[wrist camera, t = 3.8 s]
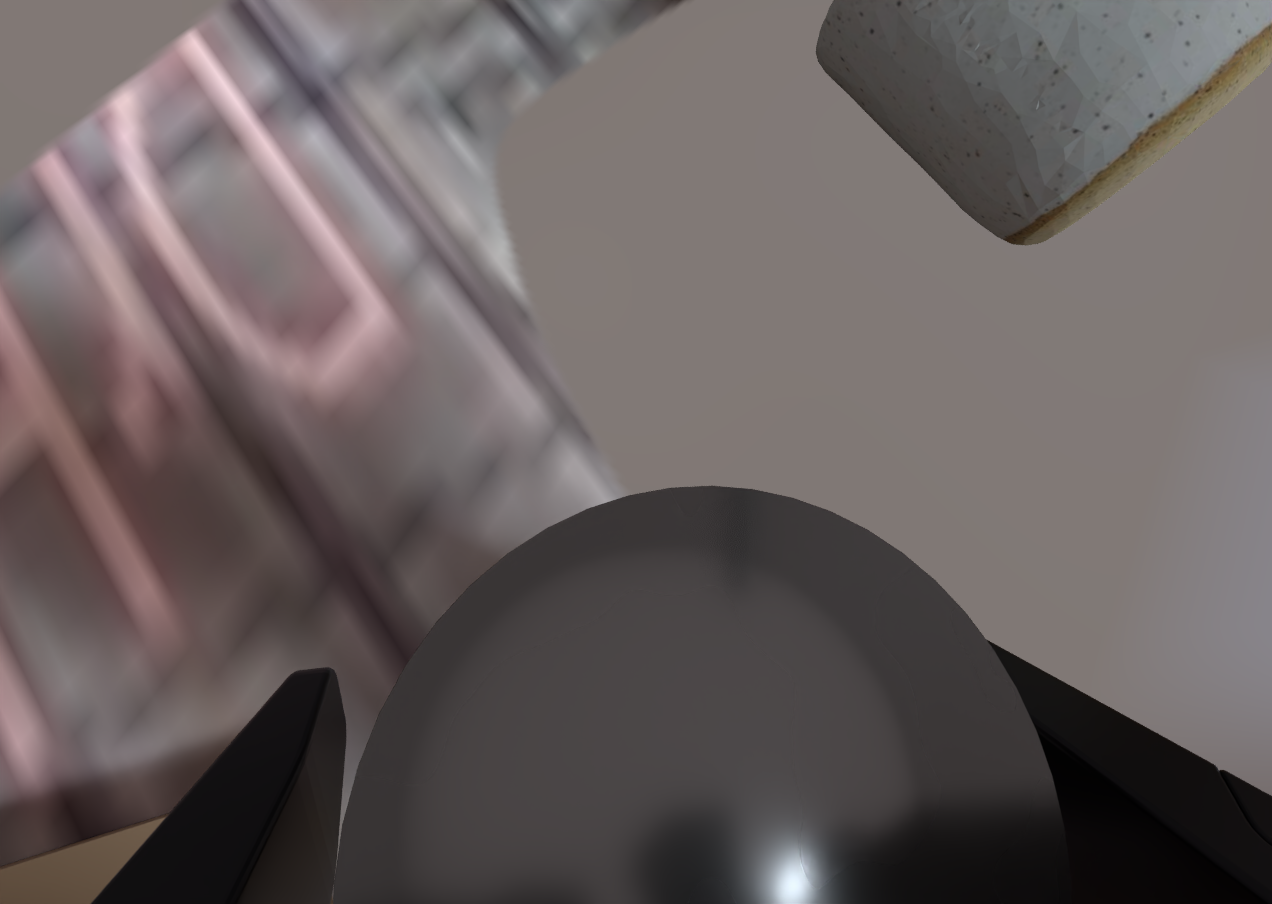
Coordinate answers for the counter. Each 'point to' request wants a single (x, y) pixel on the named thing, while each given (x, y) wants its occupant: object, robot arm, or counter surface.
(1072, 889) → the robot arm
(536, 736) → the metal tin
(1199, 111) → the ceramic mug
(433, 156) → the counter surface
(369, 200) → the counter surface
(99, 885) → the tan wooden panel
